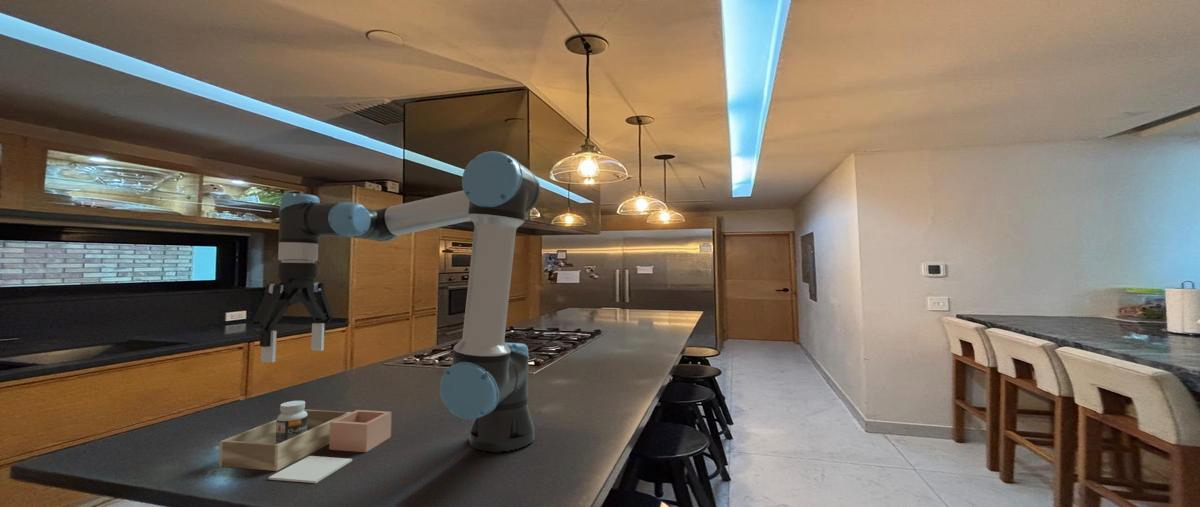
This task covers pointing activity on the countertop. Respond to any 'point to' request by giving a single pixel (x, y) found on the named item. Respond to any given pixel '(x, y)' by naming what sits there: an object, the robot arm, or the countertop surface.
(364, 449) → the pink open box
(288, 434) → the pill bottle
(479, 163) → the robot arm
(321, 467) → the square cream tile
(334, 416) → the oak crate
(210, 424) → the countertop surface
